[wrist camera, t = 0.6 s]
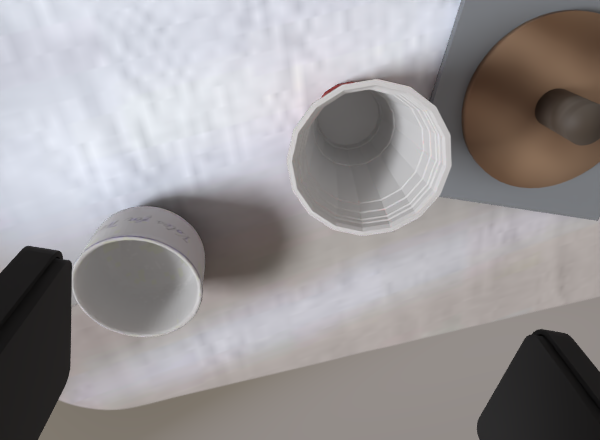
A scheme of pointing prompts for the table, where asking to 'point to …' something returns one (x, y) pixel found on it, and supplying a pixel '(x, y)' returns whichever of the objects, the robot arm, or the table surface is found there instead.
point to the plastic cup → (369, 157)
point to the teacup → (141, 273)
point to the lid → (537, 102)
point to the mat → (449, 101)
